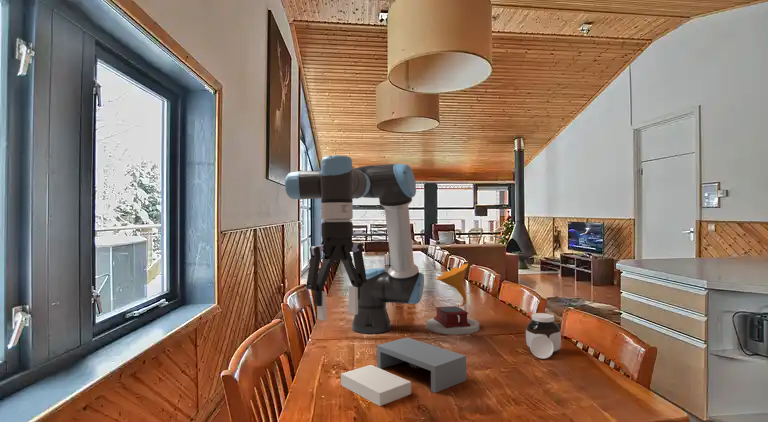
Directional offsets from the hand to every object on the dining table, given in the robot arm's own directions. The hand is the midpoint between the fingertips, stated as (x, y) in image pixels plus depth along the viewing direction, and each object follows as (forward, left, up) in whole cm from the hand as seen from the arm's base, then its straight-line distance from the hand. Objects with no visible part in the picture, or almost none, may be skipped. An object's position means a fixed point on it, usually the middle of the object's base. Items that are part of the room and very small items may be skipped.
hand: (338, 316), depth 100 cm
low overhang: (0, +27, -20) cm, 34 cm away
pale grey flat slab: (0, +11, -20) cm, 23 cm away
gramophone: (-26, +71, -21) cm, 78 cm away
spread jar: (+14, +68, -21) cm, 72 cm away
